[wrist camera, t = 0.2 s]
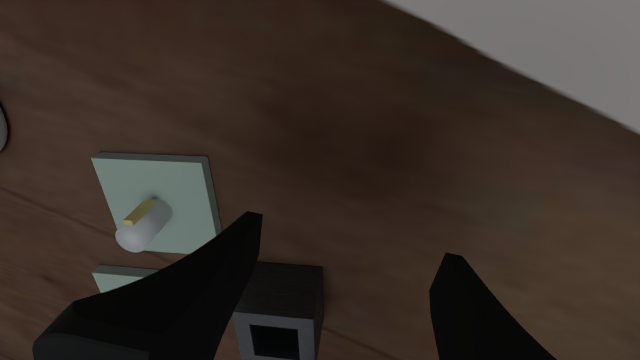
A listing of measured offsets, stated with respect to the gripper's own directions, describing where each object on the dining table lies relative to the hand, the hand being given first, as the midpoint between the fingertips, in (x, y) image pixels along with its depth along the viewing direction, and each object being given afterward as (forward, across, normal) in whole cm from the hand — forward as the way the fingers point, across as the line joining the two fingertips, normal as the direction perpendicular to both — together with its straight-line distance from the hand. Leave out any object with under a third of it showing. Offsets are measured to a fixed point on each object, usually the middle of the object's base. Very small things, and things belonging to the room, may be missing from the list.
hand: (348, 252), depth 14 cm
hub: (+10, +3, +14) cm, 17 cm away
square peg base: (+10, +13, +7) cm, 18 cm away
